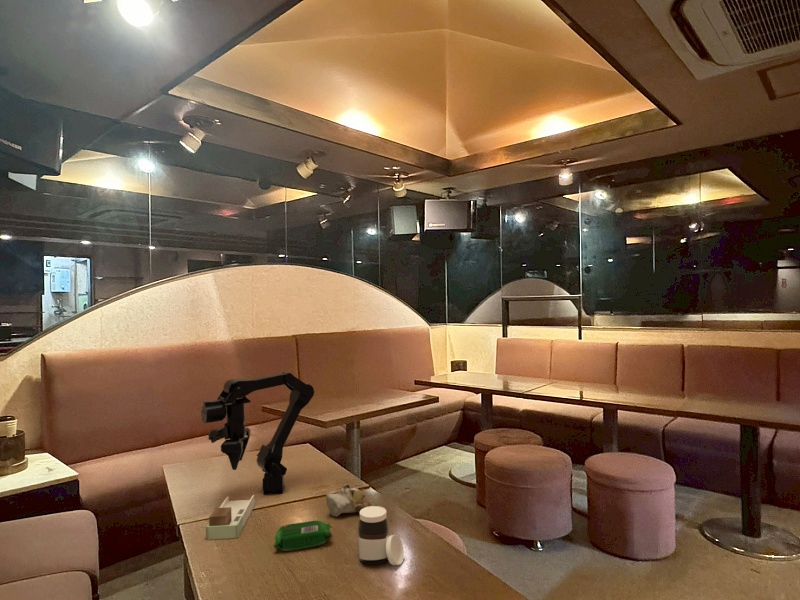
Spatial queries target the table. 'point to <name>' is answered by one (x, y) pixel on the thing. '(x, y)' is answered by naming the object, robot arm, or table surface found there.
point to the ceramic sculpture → (346, 501)
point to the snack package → (302, 535)
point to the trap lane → (238, 516)
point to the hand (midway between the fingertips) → (237, 465)
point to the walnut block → (220, 517)
